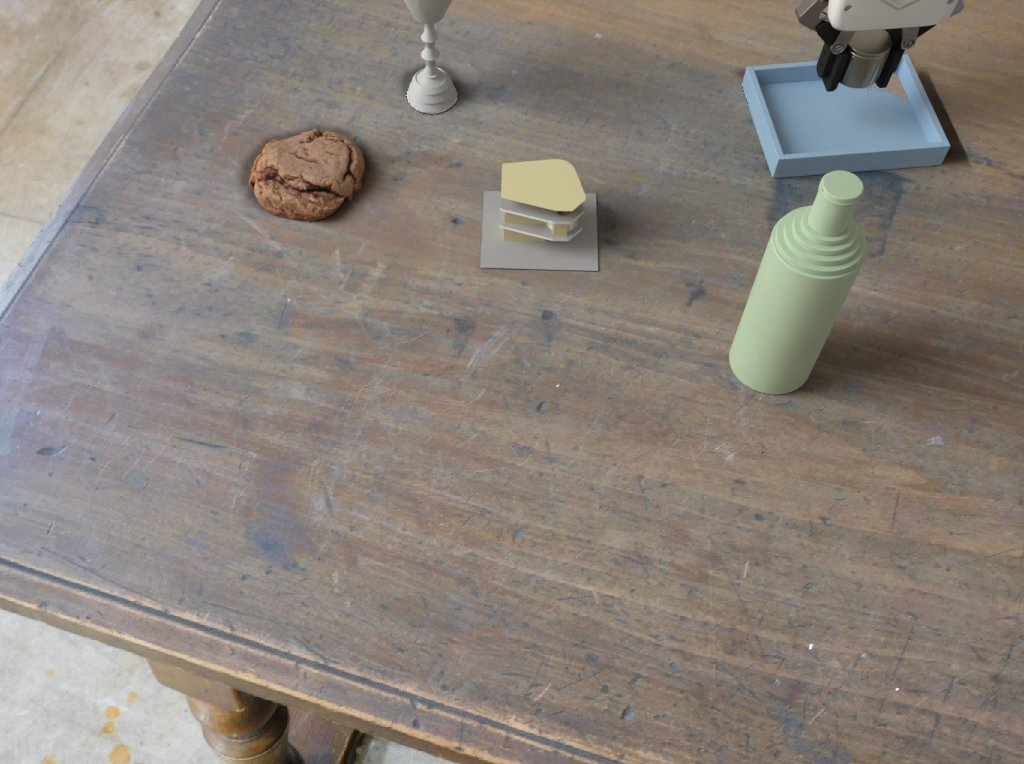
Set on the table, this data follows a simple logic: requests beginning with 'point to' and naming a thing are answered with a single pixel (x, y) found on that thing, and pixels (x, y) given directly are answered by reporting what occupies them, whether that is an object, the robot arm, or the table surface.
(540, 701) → the table surface
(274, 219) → the table surface
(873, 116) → the tray
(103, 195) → the table surface
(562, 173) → the stacked layers on plate
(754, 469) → the table surface
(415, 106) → the chalice
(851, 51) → the bronze metal cap
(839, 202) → the bottle
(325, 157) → the cookie
